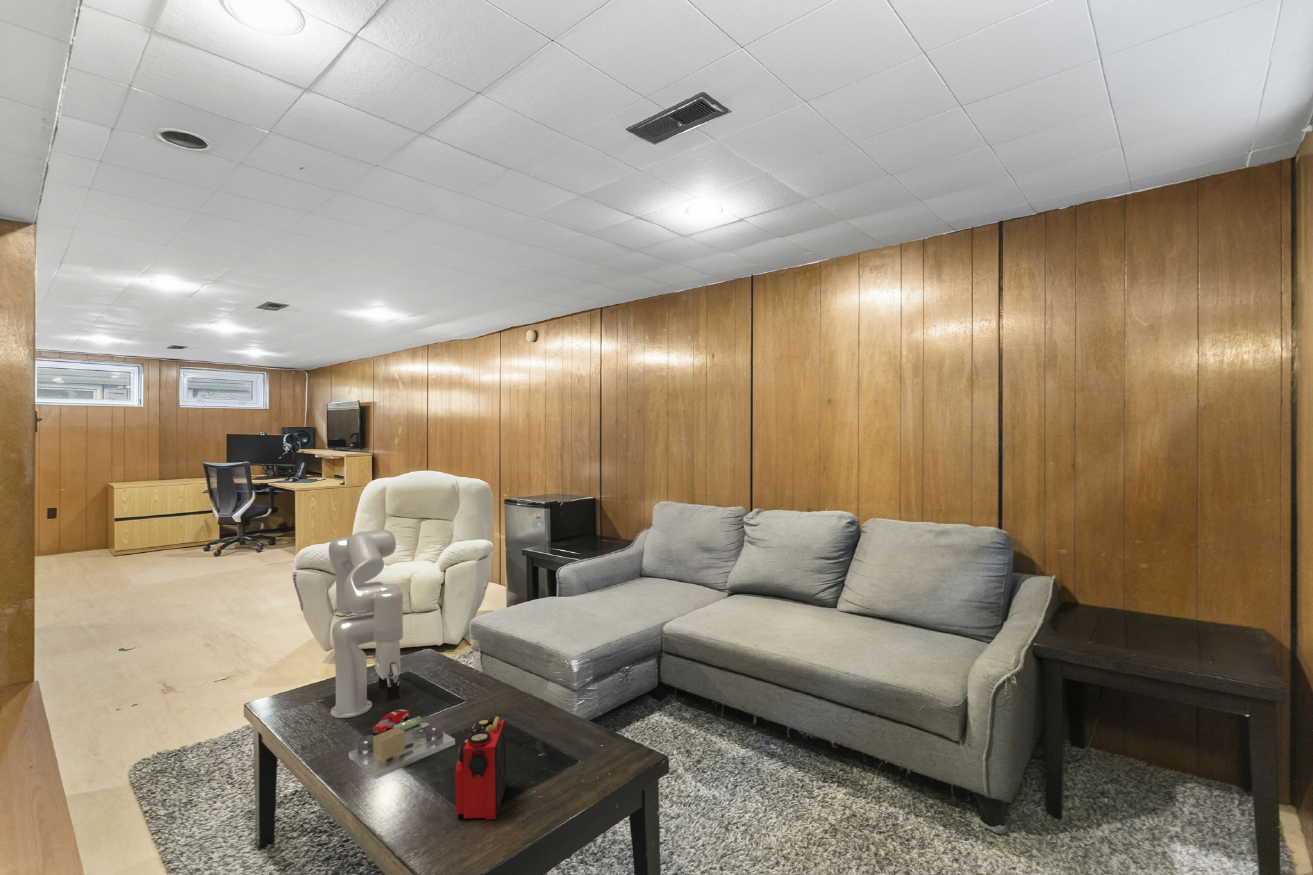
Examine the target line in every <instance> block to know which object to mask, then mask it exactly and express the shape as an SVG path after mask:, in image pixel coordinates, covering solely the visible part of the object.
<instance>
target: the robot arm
mask: <svg viewBox="0 0 1313 875" xmlns="http://www.w3.org/2000/svg"><path fill="white" fill-rule="evenodd" d="M396 547H397V540H396V537H395V535H394V534H393V532H391V531H390V530H388V529H379V530H378V529H377V530H368V531H367V530H366V531H359V532H356V533H352V534H351V536H343V537H339V538H335V539H333V540H331V542H330V543H329V546H328V556H329V557H328V558H329V561H330V563H331V566H332V568H333V570H334V573H335V595H336V596H335V600H336V609H337V611H338V613H341V614H342V615H350V614H351V615H352V614H354V615H357V616H351V617H346V618H343V619H340V620H337V621H336V622H335V623H334V625H333V626H332V629H331V630H332V631H331V635H332V636H331V637H332V642H333V646H334V656H335V657H334V658H335V660H334V661H335V705H334V706H333V707H331V709H330V716H331V717H332V718H337V719H347V718H354V717H357V716H360V715H363V714H365V713H367V712H368V711H370V710H371V709H372V706H373V702H372V701H371V700H368V694H367V693H368V692H367V691H368V689H367V688H368V685H367V684H368V682H367V681H368V680H367V679H368V678H367V677H368V674H367V673H368V672H367V671H368V670H367V665H368V664H367V655H366V653H365V651H364V650H362V648H360V647H359V646H361V645H363V644H368V643H369V644H370V643H375V657H374V660H375V661H374V663H375V664H374V670H375V672H376V674H377V675H378V690H379V691H381V690H385V689H386V702H391V701H396V700H399V699H400V680H399V679H400V678H399V676H400V674H401V647H400V641H401V640H402V639H403V638H404V629H403V628H404V625H403V624H404V620H403V619H404V616H403V615H404V612H403V611H404V610H403V609H404V608H403V607H404V606H403V604H404V602H403V600H404V599H403V597H404V596H403V592H402V589H401V587H399V585H397V584H396V583H383V582H381V581H372V582H369V581H371V580H372V579H374V578H375V577H377V576H379V575H380V574H381V573H382V571H383V569H384V566H385V560H384V559H383V558H387V557H389V556H391V555H393V553H395V551H396V549H397V548H396Z"/></svg>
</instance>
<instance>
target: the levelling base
mask: <svg viewBox="0 0 1313 875" xmlns="http://www.w3.org/2000/svg"><path fill="white" fill-rule="evenodd" d="M396 727H398V728H400V729H401V730H403V731H405V745H407V744H409V743H413V747H411V748H408V749H406V750H405V751H404V752H402V753H399V754H397V755H395V756H393V758H391V759H385V760H383V761H380V760H379V759H377V758H375V757H374V756H373V736H375V734H374V735H373V734H370V735H369V734H368V735H363V736H361V737H359V738H358V739H357V740H356V749H353V750H350V751H349V752H348V759H350V760H351V761H352V760H353V762H354V763H355V764H356V763H357V764H356V765H358V766H359V767H360V768H361V767H362V769H363V771H365V770H366V771H365V772H366V773H368V774H369V775H370V774H371V775H370V776H372V777H373V778H374V779H378V778H380V777H382V776H385V775H387V774H389V773H392V772H394V771H396V770H399V769H401V768H403V767H406V766H408V765H411V764H412V763H415V762H417V761H420V760H422V759H424V758H427V757H429V756H432V755H434V754H436V753H438V752H441V751H443V750H445V749H447V748H449V747H452V746H455V745H456V738H454V737H452V736H451V735H449V734H447V733H445V732H444V723H443V722H432V723H428V722H423V721H422V717H421V716H420V715H419V716H416V717H412V718H409V720H407V721H405V722H402V723H399V724H397V725H394V726H393V729H394V728H396Z"/></svg>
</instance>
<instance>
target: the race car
mask: <svg viewBox="0 0 1313 875" xmlns="http://www.w3.org/2000/svg"><path fill="white" fill-rule="evenodd" d="M410 719H411V714H410V711H409V710H407V709H395V710H393V711H391V712H389V713H387V714H386V715H385V716H384V717H382V718H380V721H379V722H377V723H376V724H375V725H374V726H373V729H372V733H373V734H374V735H378V734H381V733H383V732H386V731H388V730H391V729H393V726H394V725H397V724H399V723H402V722H405V721H407V720H410Z"/></svg>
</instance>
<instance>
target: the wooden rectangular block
mask: <svg viewBox="0 0 1313 875" xmlns="http://www.w3.org/2000/svg"><path fill="white" fill-rule="evenodd" d="M411 747H413V743H409V744H407V745H405V731H403V730H401V729H400V728H398V727H396V728H394V729H391V730H388V731H386V732H383V733H381V734H375V735H374V736H373V756H374V757H375V758H377V759H379V760H380V761H383V760H385V759H391V758H393V756H395V755H397V754H399V753H402V752H404V751H405V750H406V749H408V748H411Z"/></svg>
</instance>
